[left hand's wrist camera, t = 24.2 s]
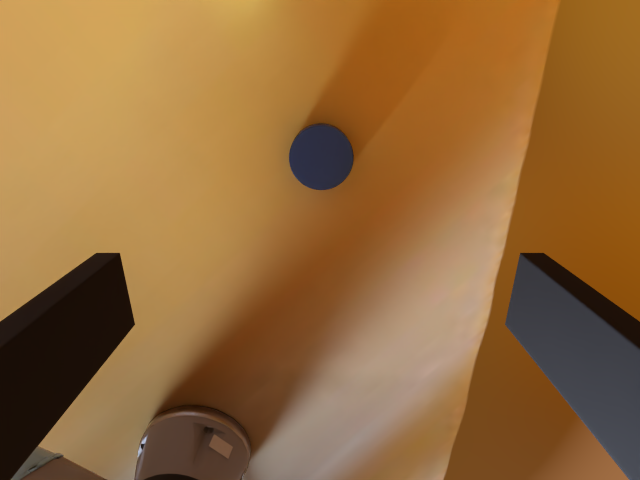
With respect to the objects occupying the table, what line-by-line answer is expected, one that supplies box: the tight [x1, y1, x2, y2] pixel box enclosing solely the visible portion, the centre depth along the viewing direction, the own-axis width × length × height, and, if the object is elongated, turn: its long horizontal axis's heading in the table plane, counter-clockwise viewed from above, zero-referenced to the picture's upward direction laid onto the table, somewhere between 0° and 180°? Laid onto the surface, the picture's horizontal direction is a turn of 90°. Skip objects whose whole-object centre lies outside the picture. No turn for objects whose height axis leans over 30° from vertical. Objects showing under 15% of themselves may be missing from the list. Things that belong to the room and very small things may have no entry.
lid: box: [289, 123, 353, 190], centre depth 38 cm, size 6×6×2 cm
